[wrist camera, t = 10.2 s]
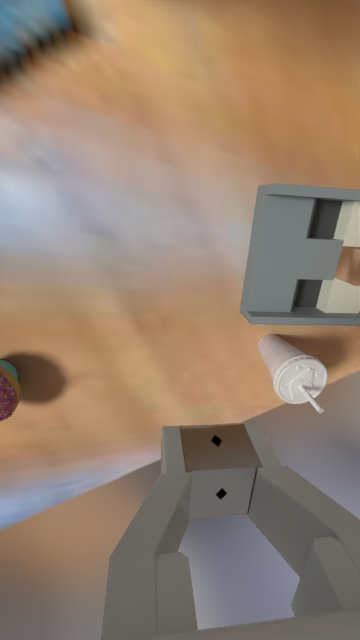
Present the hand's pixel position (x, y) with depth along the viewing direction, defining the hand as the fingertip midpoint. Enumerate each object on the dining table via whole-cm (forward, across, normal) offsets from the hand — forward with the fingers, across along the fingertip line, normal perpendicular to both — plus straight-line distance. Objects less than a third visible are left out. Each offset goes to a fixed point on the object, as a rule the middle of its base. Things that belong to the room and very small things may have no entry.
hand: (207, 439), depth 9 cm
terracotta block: (+27, -24, 0) cm, 36 cm away
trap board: (+30, -19, -1) cm, 35 cm away
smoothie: (+30, -16, +12) cm, 36 cm away
